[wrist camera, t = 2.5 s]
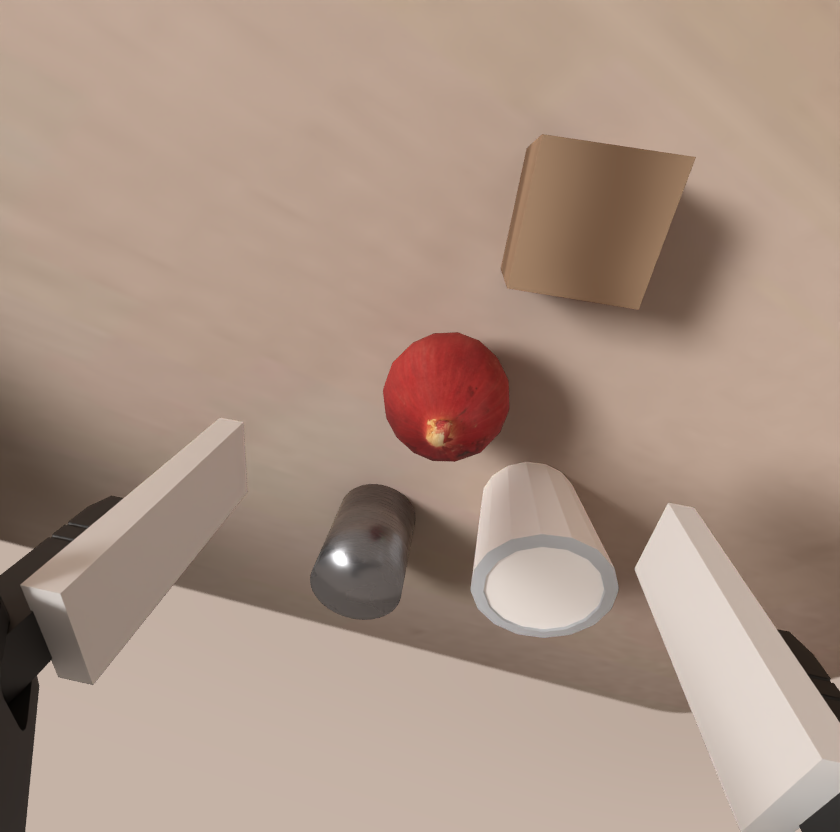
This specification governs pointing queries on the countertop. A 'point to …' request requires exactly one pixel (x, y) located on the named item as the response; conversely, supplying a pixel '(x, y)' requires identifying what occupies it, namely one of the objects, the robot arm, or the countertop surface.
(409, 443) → the onion
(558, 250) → the walnut block
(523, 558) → the white short cylinder
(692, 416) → the countertop surface
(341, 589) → the metal tin
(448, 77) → the countertop surface
